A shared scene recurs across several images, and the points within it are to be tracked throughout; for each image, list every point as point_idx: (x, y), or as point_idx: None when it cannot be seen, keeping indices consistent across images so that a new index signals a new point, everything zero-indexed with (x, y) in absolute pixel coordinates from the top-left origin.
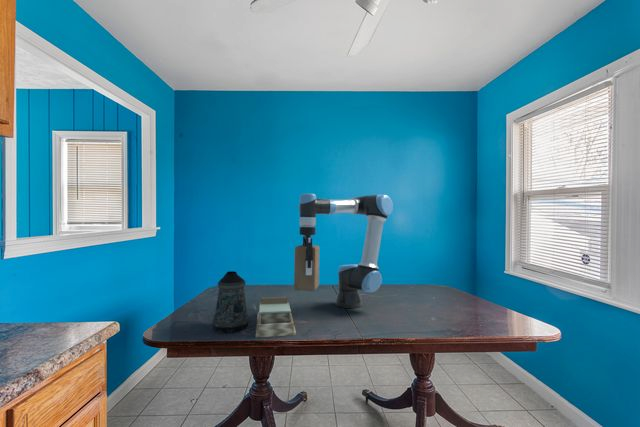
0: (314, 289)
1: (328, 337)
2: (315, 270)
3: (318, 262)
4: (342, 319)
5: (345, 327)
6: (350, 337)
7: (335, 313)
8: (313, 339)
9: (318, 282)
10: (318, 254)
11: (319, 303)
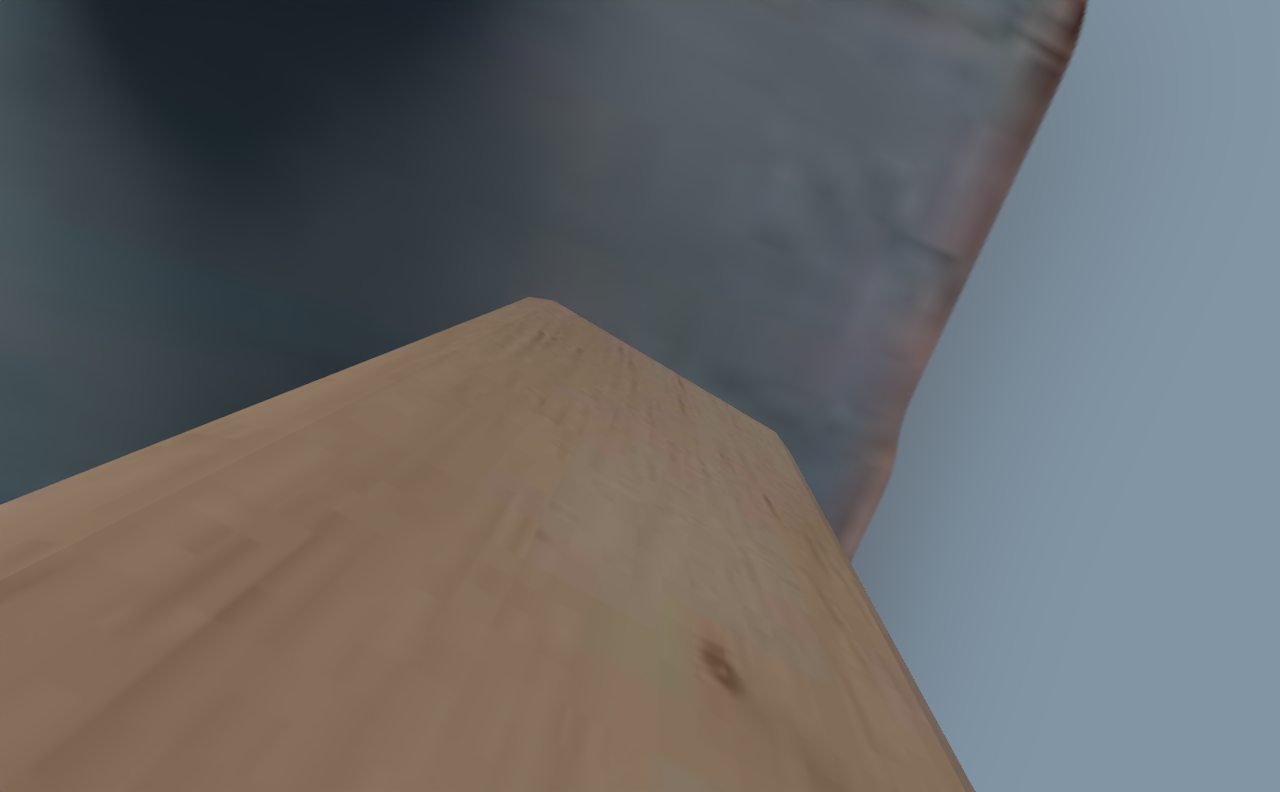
0: (786, 448)
1: (914, 301)
2: (856, 582)
3: (496, 453)
4: (580, 21)
5: (777, 83)
6: (987, 138)
7: (398, 17)
8: (902, 410)
9: (576, 325)
10: (366, 674)
11: (51, 58)
